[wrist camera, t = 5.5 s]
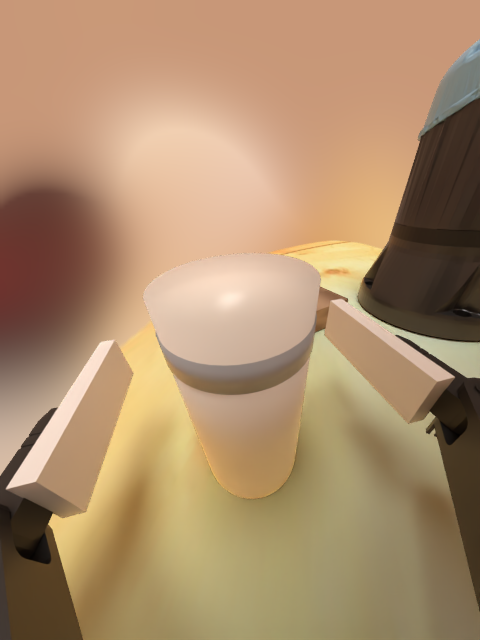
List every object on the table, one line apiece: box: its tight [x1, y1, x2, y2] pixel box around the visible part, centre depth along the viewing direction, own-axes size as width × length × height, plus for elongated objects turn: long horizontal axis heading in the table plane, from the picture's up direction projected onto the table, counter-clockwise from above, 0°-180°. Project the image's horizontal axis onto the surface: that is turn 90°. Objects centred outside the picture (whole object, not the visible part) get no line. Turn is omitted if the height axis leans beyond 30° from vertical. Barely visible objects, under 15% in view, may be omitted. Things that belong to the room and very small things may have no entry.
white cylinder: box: [143, 253, 321, 499], centre depth 10 cm, size 6×6×12 cm
